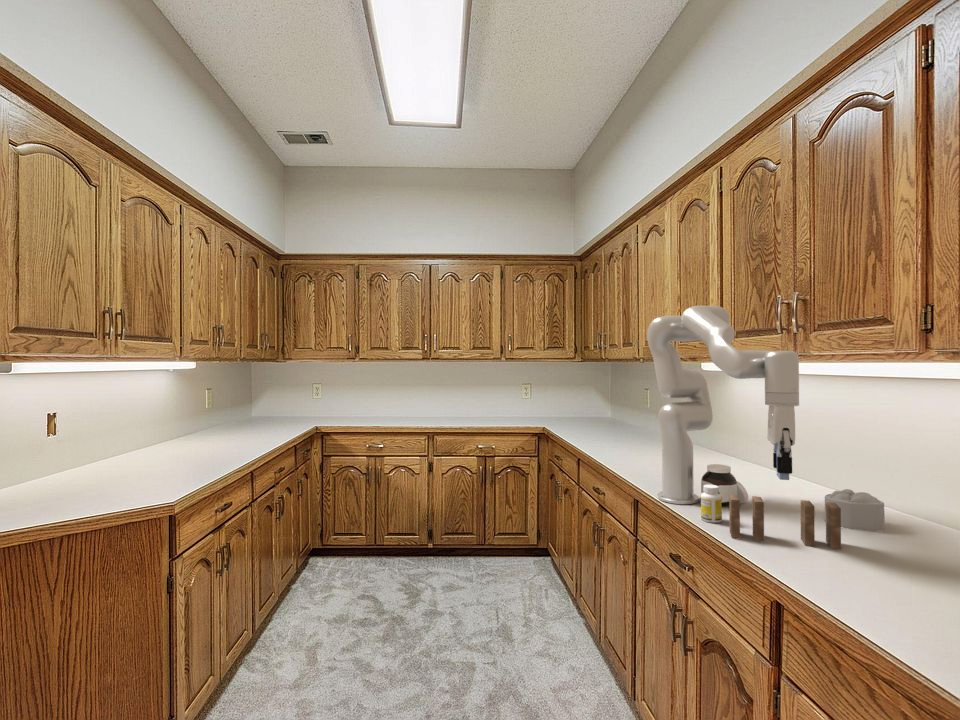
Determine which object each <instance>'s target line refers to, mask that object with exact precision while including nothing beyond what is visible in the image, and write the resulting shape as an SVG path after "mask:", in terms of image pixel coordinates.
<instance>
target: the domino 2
mask: <svg viewBox="0 0 960 720" xmlns="http://www.w3.org/2000/svg"><path fill="white" fill-rule="evenodd" d="M751 500H752V504H751V505H752V509H751V510H752V536H753V538H755V539H754V541H755V540H759V541H758V542H765V502H764V500H763V498H762V496H752V499H751Z"/></svg>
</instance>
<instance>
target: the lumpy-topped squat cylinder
mask: <svg viewBox="0 0 960 720" xmlns="http://www.w3.org/2000/svg"><path fill="white" fill-rule="evenodd" d="M826 502H833V503H836V504H837V505H838V506H839V507H840V508H841V528H842V527H843V528H844V529H847V528H848V530H854V529H855V531H856V530H857V531H867V530H868V531H869V530H871V532H881V530H882V531H884V530H885V503H884V502H883V501H882V500H880V499H878V498H877V497H876V496H873V495H871V494H870V493H868V492H863V491H862V492H861V491H860V492H854V491H853V490H852V489H848V488H847V489H842V490H835V491H833V492H831V493H828V494H826V495H824V522H825V523H826ZM843 528H842V529H843ZM869 532H870V531H869Z"/></svg>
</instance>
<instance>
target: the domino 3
mask: <svg viewBox="0 0 960 720" xmlns="http://www.w3.org/2000/svg"><path fill="white" fill-rule="evenodd" d="M815 530H816V529H815V505H814V504H813V503H812V502H811V501H810V500H806V499H800V540H801V542H802V544H804V546H806V547H813V548H814V547H815V546H816V545H815V539H816V538H815V537H816V536H815Z"/></svg>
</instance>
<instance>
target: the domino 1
mask: <svg viewBox="0 0 960 720" xmlns="http://www.w3.org/2000/svg"><path fill="white" fill-rule="evenodd" d="M728 507H729V512H728V513H729V535H730V534H731V535H730V538H731V537H732V538H731V539H736V538H740V539H741V503H740V500H739V497H738V495H729V506H728Z"/></svg>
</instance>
